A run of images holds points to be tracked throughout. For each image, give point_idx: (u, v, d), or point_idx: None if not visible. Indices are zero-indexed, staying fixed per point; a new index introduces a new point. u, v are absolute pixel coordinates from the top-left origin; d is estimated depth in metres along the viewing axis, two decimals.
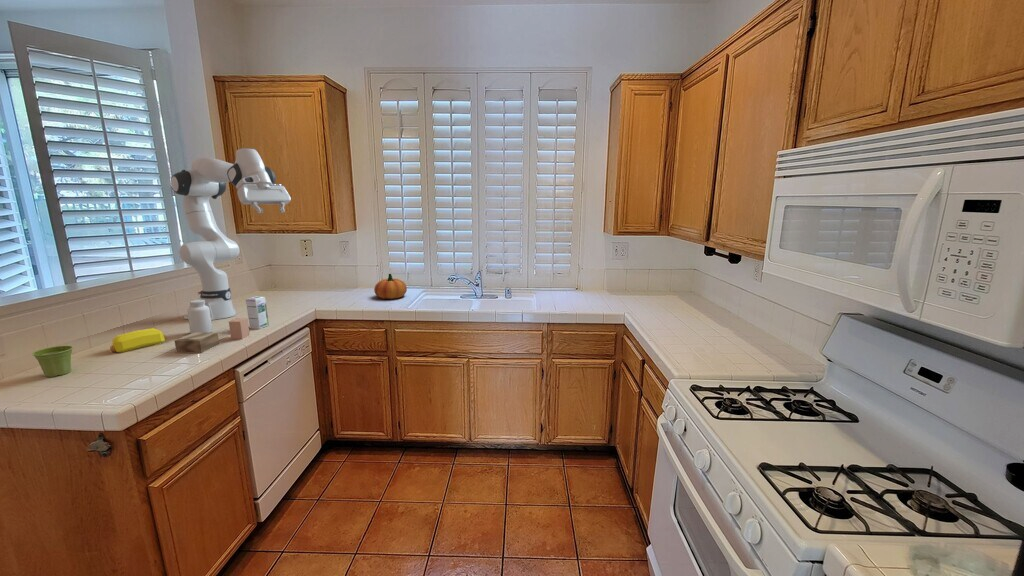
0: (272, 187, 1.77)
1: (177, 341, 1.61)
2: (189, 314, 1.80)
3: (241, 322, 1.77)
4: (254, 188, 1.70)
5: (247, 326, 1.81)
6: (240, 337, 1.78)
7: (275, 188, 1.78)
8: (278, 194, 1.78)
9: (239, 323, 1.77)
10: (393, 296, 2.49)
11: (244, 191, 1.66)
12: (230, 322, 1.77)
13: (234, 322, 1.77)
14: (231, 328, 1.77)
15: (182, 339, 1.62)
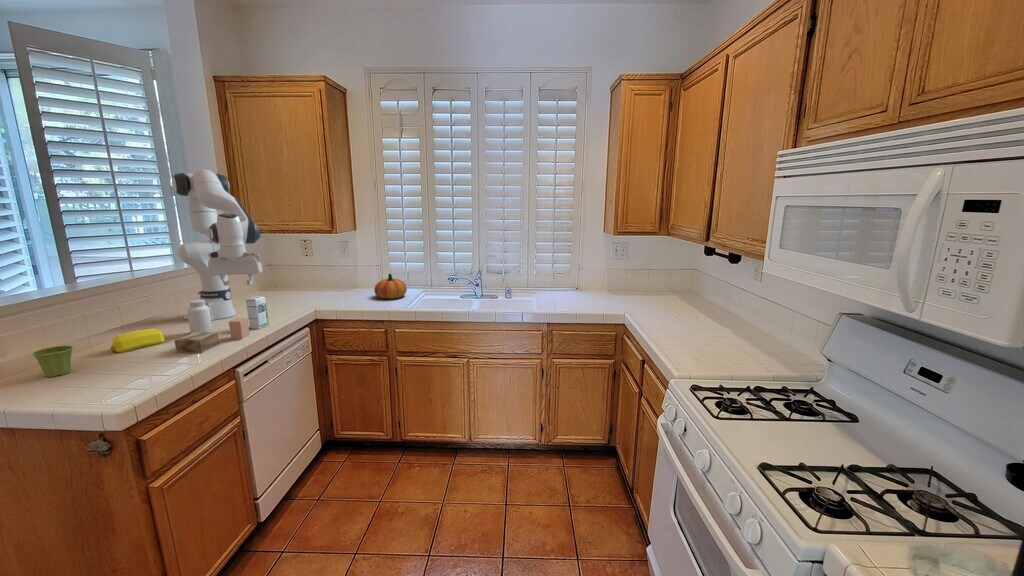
0: (240, 259, 1.72)
1: (177, 341, 1.61)
2: (189, 314, 1.80)
3: (241, 322, 1.77)
4: (221, 261, 1.71)
5: (247, 326, 1.81)
6: (240, 337, 1.78)
7: (244, 260, 1.72)
8: (245, 267, 1.73)
9: (239, 323, 1.77)
10: (393, 296, 2.49)
11: (209, 266, 1.71)
12: (230, 322, 1.77)
13: (234, 322, 1.77)
14: (231, 328, 1.77)
15: (182, 339, 1.62)
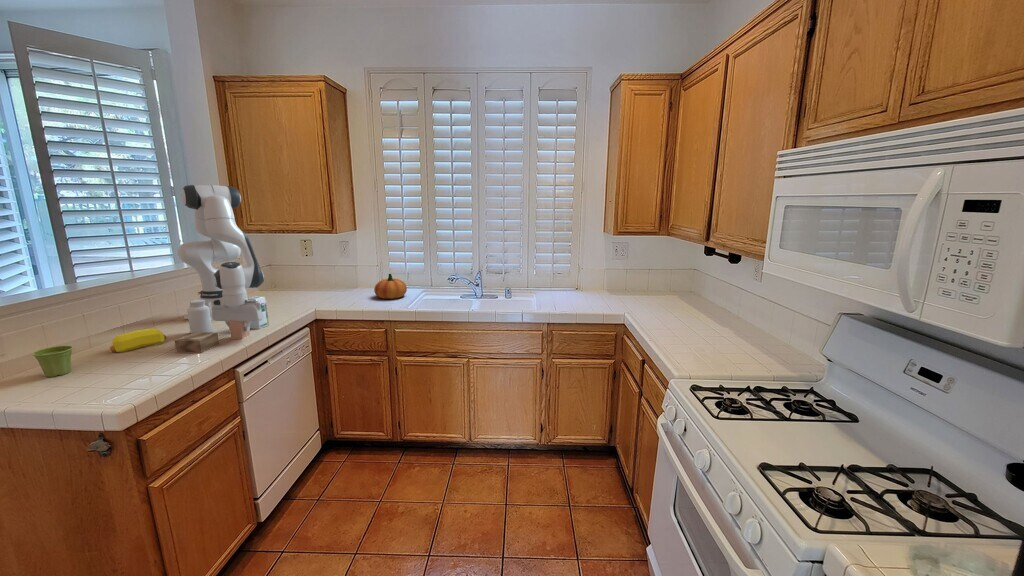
0: (241, 307, 1.76)
1: (177, 341, 1.61)
2: (189, 314, 1.80)
3: (241, 322, 1.77)
4: (223, 308, 1.76)
5: None
6: (240, 337, 1.78)
7: (245, 308, 1.76)
8: (246, 315, 1.77)
9: (239, 323, 1.77)
10: (393, 296, 2.49)
11: (212, 312, 1.76)
12: (230, 322, 1.77)
13: (234, 322, 1.77)
14: (231, 328, 1.77)
15: (182, 339, 1.62)
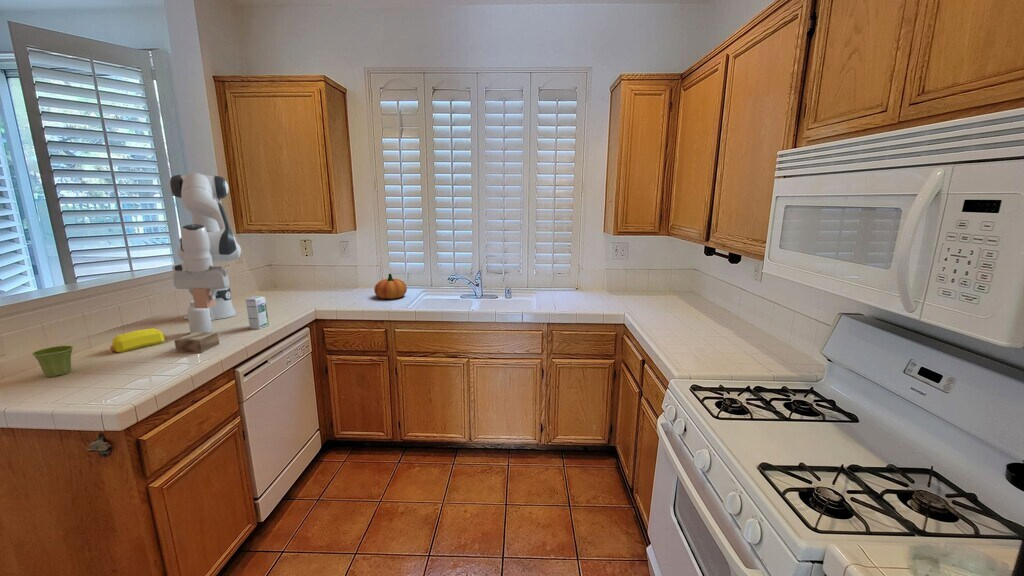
0: (206, 273, 1.63)
1: (177, 341, 1.61)
2: (189, 314, 1.80)
3: (206, 289, 1.64)
4: (186, 275, 1.63)
5: None
6: (205, 306, 1.65)
7: (209, 274, 1.63)
8: (210, 282, 1.63)
9: (203, 291, 1.63)
10: (393, 296, 2.49)
11: (174, 279, 1.62)
12: (193, 289, 1.63)
13: (198, 289, 1.63)
14: (195, 296, 1.64)
15: (182, 339, 1.62)
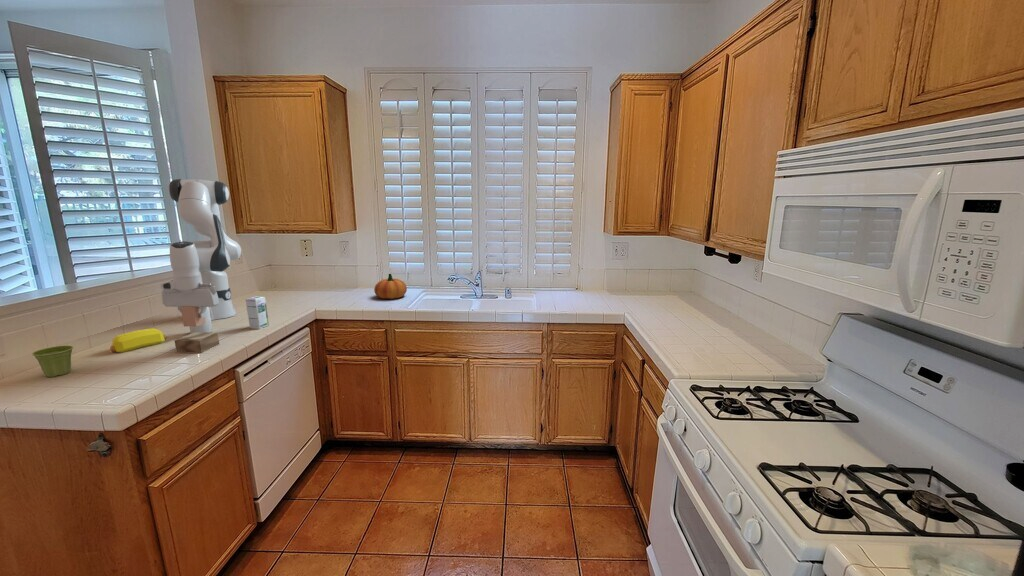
0: (195, 291, 1.60)
1: (177, 341, 1.61)
2: None
3: (194, 307, 1.62)
4: (175, 292, 1.60)
5: None
6: (194, 324, 1.62)
7: (198, 292, 1.60)
8: (199, 300, 1.61)
9: (192, 309, 1.61)
10: (393, 296, 2.49)
11: (162, 297, 1.60)
12: (182, 307, 1.61)
13: (187, 307, 1.61)
14: (183, 314, 1.61)
15: (182, 339, 1.62)
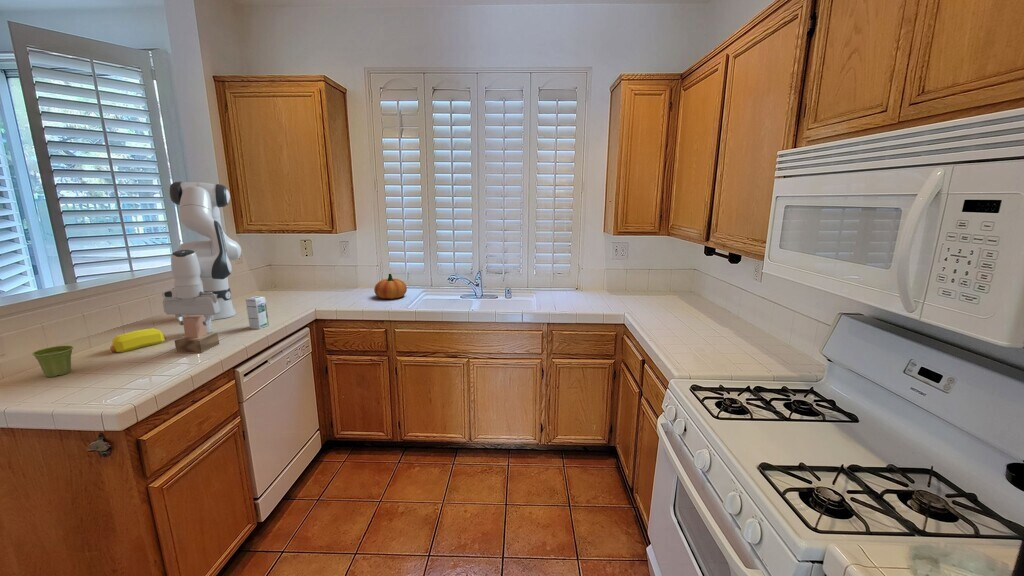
0: (196, 299, 1.61)
1: (177, 341, 1.61)
2: None
3: (196, 319, 1.63)
4: (176, 301, 1.61)
5: None
6: (195, 335, 1.63)
7: (199, 300, 1.61)
8: (200, 308, 1.62)
9: (194, 321, 1.62)
10: (393, 296, 2.49)
11: (164, 305, 1.61)
12: (184, 319, 1.62)
13: (188, 319, 1.62)
14: (185, 326, 1.62)
15: (182, 339, 1.62)
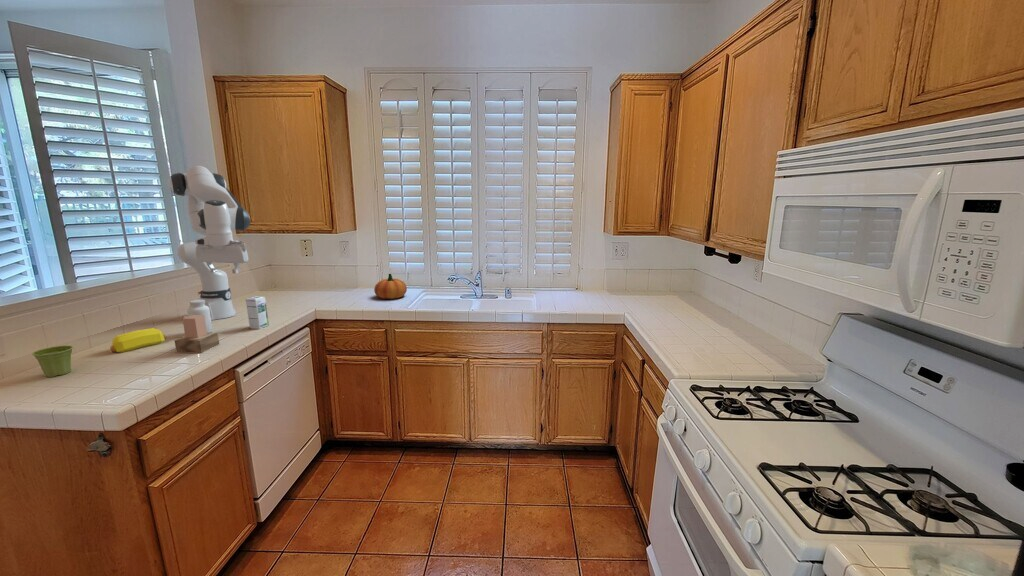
0: (226, 247, 1.70)
1: (177, 341, 1.61)
2: (189, 314, 1.80)
3: (196, 319, 1.63)
4: (208, 248, 1.70)
5: (204, 324, 1.67)
6: (195, 335, 1.63)
7: (229, 248, 1.70)
8: (230, 256, 1.70)
9: (194, 321, 1.62)
10: (393, 296, 2.49)
11: (196, 252, 1.70)
12: (184, 319, 1.62)
13: (188, 319, 1.62)
14: (185, 326, 1.62)
15: (182, 339, 1.62)
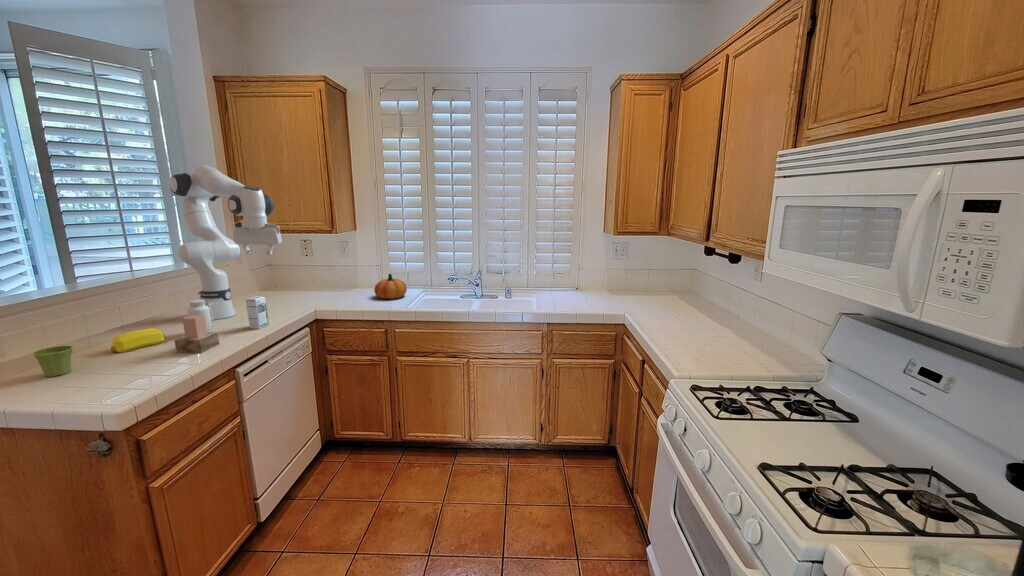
0: (262, 230, 1.83)
1: (177, 341, 1.61)
2: (189, 314, 1.80)
3: (196, 319, 1.63)
4: (244, 231, 1.83)
5: (204, 324, 1.67)
6: (195, 335, 1.63)
7: (265, 231, 1.83)
8: (266, 238, 1.84)
9: (194, 321, 1.62)
10: (393, 296, 2.49)
11: (234, 235, 1.83)
12: (184, 319, 1.62)
13: (188, 319, 1.62)
14: (185, 326, 1.62)
15: (182, 339, 1.62)
